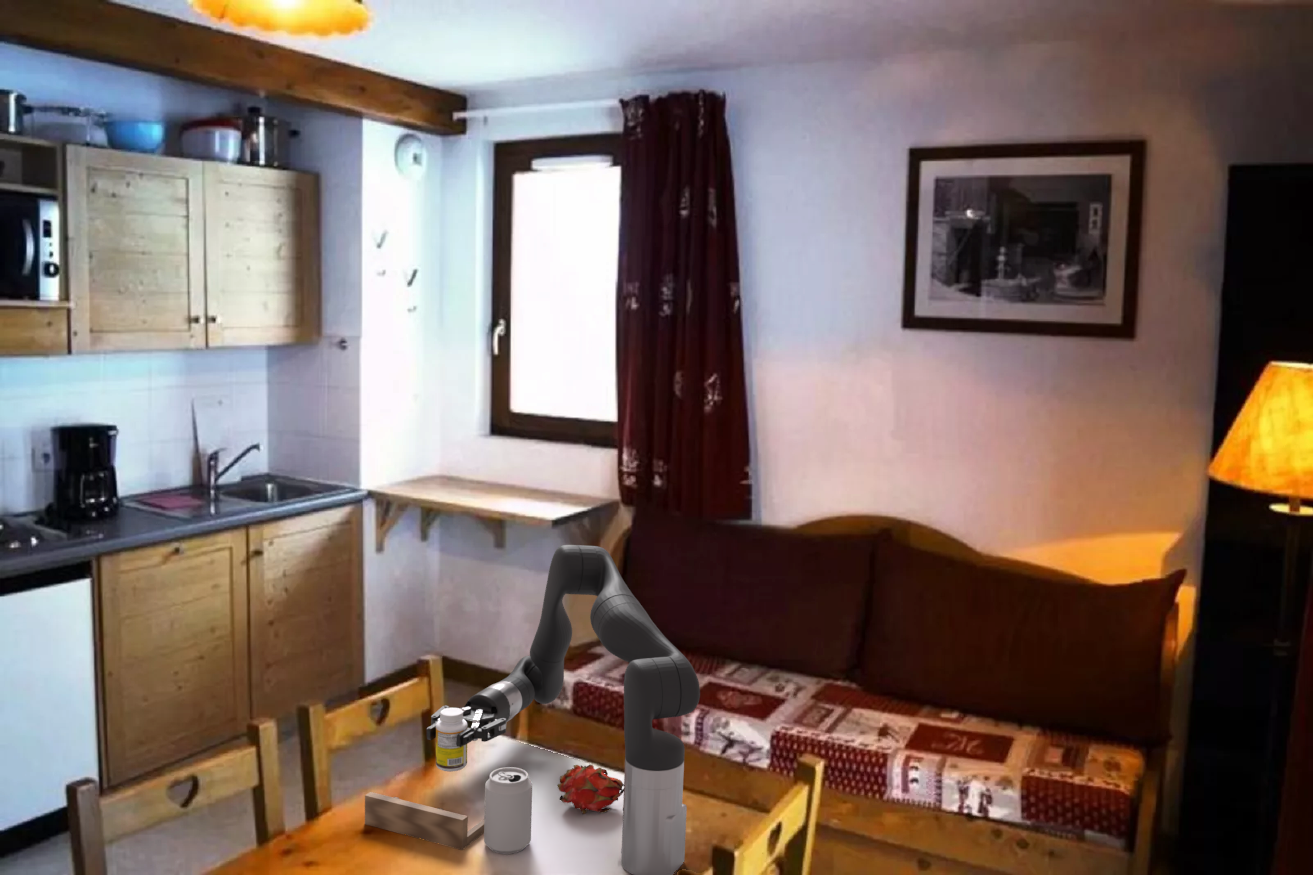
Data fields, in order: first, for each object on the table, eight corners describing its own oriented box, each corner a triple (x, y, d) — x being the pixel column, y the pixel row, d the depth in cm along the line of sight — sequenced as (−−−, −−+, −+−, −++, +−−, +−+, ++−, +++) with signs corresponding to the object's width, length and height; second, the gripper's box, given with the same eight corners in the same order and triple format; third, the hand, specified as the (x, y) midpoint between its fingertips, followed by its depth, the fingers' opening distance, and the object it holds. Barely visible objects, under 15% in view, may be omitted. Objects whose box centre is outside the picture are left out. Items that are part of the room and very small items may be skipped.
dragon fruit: (551, 814, 192) (618, 825, 193) (554, 805, 185) (624, 816, 185) (559, 765, 196) (625, 776, 197) (562, 754, 189) (631, 765, 190)
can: (522, 859, 173) (524, 786, 172) (476, 853, 174) (478, 780, 173) (536, 837, 180) (538, 767, 179) (493, 831, 182) (494, 762, 180)
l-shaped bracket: (488, 829, 182) (489, 800, 182) (462, 850, 175) (462, 820, 174) (394, 805, 190) (394, 777, 189) (364, 824, 182) (364, 795, 182)
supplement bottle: (448, 757, 200) (449, 703, 199) (473, 764, 198) (474, 709, 196) (428, 768, 195) (429, 713, 194) (453, 775, 193) (454, 719, 192)
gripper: (462, 680, 211) (409, 710, 196) (527, 694, 206) (478, 725, 190) (461, 718, 212) (409, 750, 197) (526, 732, 207) (477, 766, 191)
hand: (443, 738), depth 194 cm, fingers closed on supplement bottle, 5 cm apart
